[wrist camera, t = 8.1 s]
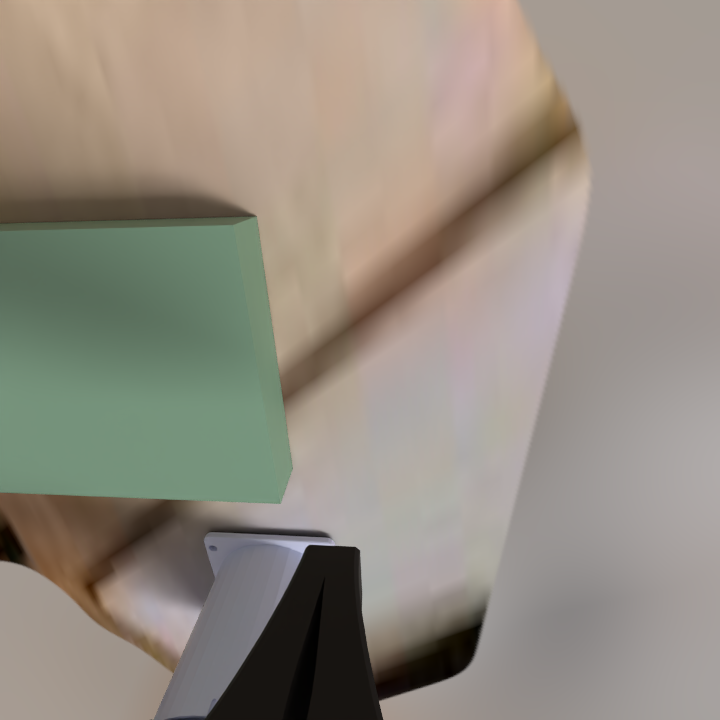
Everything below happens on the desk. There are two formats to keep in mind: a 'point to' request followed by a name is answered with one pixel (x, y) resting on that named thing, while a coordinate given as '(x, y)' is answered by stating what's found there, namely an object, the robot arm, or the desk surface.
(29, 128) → the desk surface
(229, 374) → the putting board
